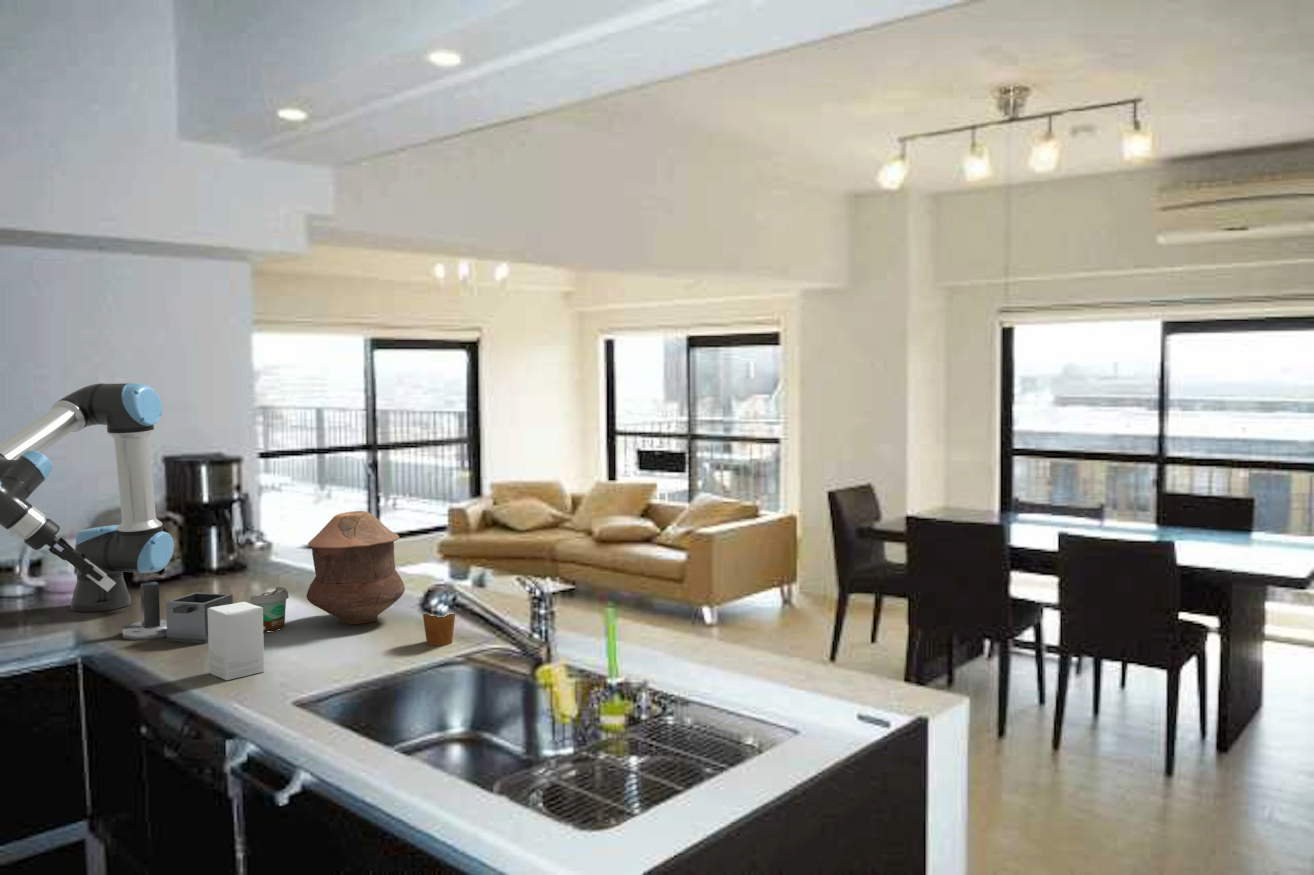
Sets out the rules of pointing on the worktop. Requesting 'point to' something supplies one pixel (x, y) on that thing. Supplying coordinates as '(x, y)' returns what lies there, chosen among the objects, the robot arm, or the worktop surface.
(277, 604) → the food container
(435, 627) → the disposable coffee cup
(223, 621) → the supplement box
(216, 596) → the grey open storage bin
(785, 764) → the worktop surface
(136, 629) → the lid
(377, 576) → the pottery vessel
